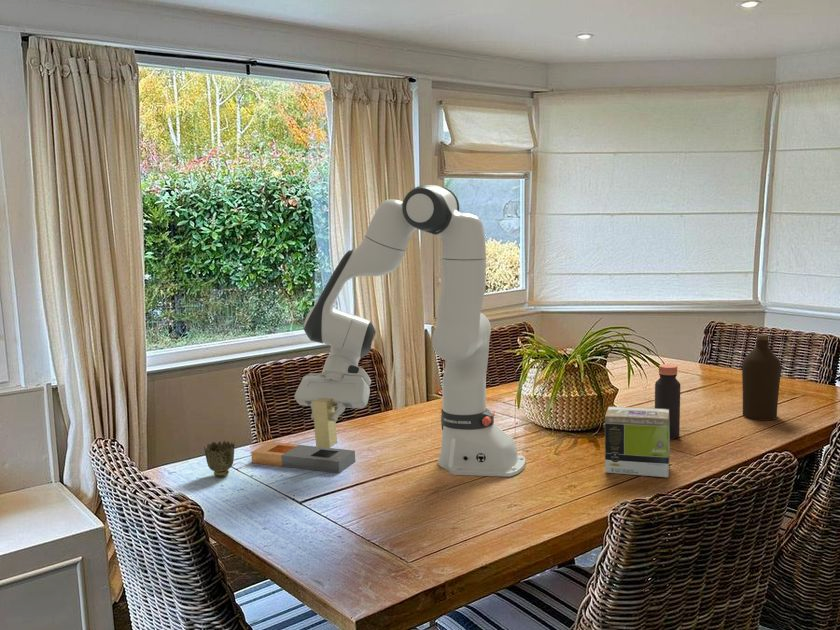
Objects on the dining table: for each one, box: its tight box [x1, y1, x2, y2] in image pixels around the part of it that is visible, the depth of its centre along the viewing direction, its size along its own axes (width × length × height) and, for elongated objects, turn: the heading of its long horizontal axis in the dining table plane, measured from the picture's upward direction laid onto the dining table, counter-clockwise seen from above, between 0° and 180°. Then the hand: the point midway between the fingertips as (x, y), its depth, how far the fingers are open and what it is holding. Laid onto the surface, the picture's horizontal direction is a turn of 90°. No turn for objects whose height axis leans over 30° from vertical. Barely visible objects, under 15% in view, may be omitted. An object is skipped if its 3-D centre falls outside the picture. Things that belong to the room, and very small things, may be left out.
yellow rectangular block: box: [313, 398, 338, 448], centre depth 195 cm, size 4×4×12 cm
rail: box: [250, 441, 356, 474], centre depth 200 cm, size 26×9×3 cm, turn 68°
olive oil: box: [741, 333, 782, 421], centre depth 227 cm, size 11×11×25 cm
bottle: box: [654, 363, 681, 440], centre depth 212 cm, size 7×7×20 cm
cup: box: [203, 440, 236, 478], centre depth 191 cm, size 8×7×8 cm
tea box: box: [604, 405, 671, 479], centre depth 186 cm, size 15×10×15 cm, turn 71°
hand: (323, 419), depth 195 cm, fingers closed on yellow rectangular block, 4 cm apart
